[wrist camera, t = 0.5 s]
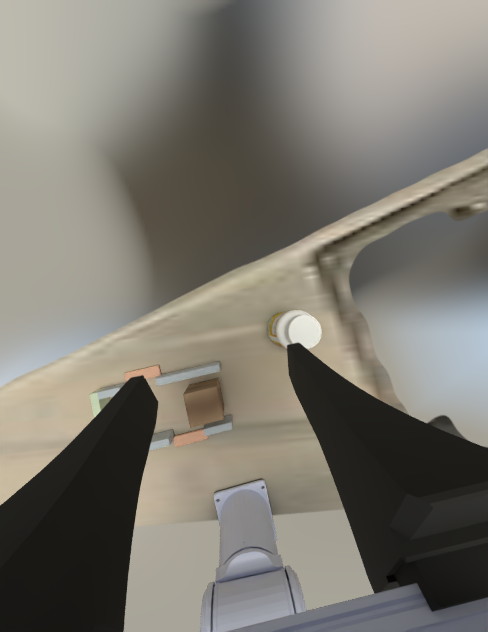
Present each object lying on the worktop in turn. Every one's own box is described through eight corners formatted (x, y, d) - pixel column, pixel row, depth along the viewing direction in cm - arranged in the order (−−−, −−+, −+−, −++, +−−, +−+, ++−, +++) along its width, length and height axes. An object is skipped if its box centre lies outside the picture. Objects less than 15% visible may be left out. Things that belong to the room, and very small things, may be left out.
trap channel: (234, 430, 33) (234, 439, 31) (115, 461, 32) (105, 473, 29) (217, 351, 33) (216, 354, 31) (98, 378, 32) (87, 383, 29)
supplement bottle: (305, 335, 34) (336, 341, 25) (276, 351, 34) (296, 363, 24) (289, 306, 34) (314, 300, 25) (260, 322, 34) (274, 322, 24)
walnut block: (224, 406, 33) (223, 419, 29) (195, 413, 33) (190, 427, 28) (218, 377, 33) (216, 386, 29) (189, 384, 33) (183, 394, 28)
